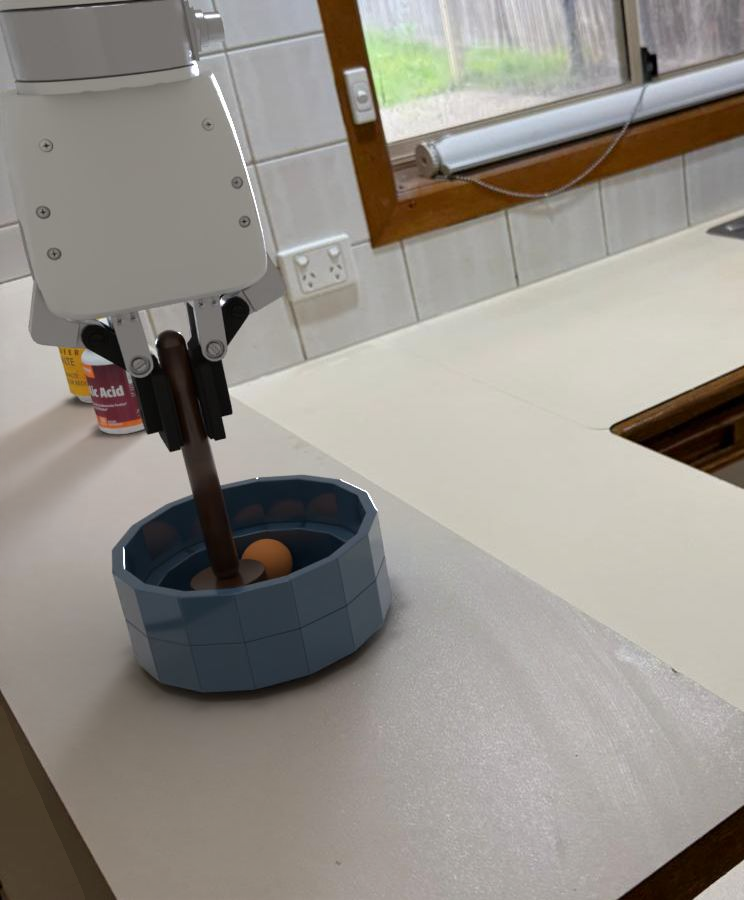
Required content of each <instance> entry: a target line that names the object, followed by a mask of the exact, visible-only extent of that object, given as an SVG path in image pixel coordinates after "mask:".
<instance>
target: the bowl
mask: <svg viewBox="0 0 744 900" xmlns="http://www.w3.org/2000/svg"><path fill="white" fill-rule="evenodd" d="M220 486H221V490H222V494H223V498H224V502H225V506H226V511H227V515H228V519H229V523H230V527H231V531H232V535H233V539H234V544H235V548H236V552H237V556H238V559H242V556H243V553H244V552H245V550H246V549H247V548H248V547H249V546H250V545H251V544H252V543H254V542H256V541H258V540H262V539H273V540H277V541H279V542H281V543H282V544H284V545H285V546H286V547H287V548H288V550H289V551H290V553H291V556H292V561H293V566H292V571H291V573H290V574H289V575H287V576H283V577H279V578H275V579H271V580H267V581H263V582H258V583H254V584H250V585H246V586H242V587H238V588H231V589H214V590H197V591H191V587H190V582H191V580H192V579H193V577H194V576H195V575H196V574H198V573H199V572H201V571H202V570H204V569H206V568H208V567H210V566H211V565H210V561H209V557H208V553H207V549H206V545H205V541H204V537H203V534H202V530H201V526H200V522H199V518H198V514H197V510H196V506H195V502H194V498H193V494H189V495H186V496H184V497H182V498H179V499H176V500H174V501H171V502H168V503H166V504H164V505H162V506H161V507H159V508H158V509H156V510H154V511H153V512H151V513H149V514H148V515H146V516H145V517H143V518H141V519H140V520H138V521H137V522H135V523H133V524H132V525H131V526H130V527H129V528H128V530H127V531H126V532H125V534H123V536H122V537H121V538H120V539H119V540H118V542H117V543H116V544H115V545H114V546H113V547H112V549H111V575H112V577H113V581H114V584H115V588H116V591H117V595H118V599H119V602H120V607H121V609H122V613H123V616H124V619H125V623H126V627H127V631H128V635H129V638H130V641H131V645H132V649H133V652H134V656H135V659H136V662H137V664H138V665H139V666H140V667H141V668H142V669H143V670H144V671H146V673H148V674H149V675H151V677H153V679H155V680H156V681H158V683H160V684H162V685H168V686H172V687H177V688H180V689H186V690H190V691H194V692H199V693H219V692H220V693H221V692H239V691H254V690H259V689H262V688H267V687H272V686H275V685H280V684H284V683H287V682H290V681H293V680H296V679H299V678H303V677H306V676H309V675H313V674H314V673H317V672H319V671H320V670H322V669H324V668H326V667H328V666H330V665H332V664H334V663H336V662H338V661H340V660H341V659H343V658H345V657H348V656H349V655H352V654H353V653H354V652H356V651H358V649H359V648H360V647H361V646H362V645H363V644H364V643H365V642H367V641H368V640H369V638H371V637H372V636H373V635H374V634H375V633H376V632H377V631H378V630H379V629H380V628H381V627H382V626H383V624H384V623H385V622H384V621H385V619H386V616H387V613H388V610H389V608H390V605H391V602H392V598H393V596H392V589H391V585H390V584H391V583H390V578H389V571H388V565H387V560H386V559H387V558H386V554H385V548H384V541H383V536H382V531H381V525H380V519H379V512H378V509H377V507H376V506H375V504H374V502H373V500H372V498H371V495H370V494H369V493H368V491H366V490H364V489H362V488H360V487H358V486H356V485H353V484H352V483H349V482H347V481H346V480H343V479H340V478H333V477H324V476H316V475H310V474H291V475H289V474H288V475H275V476H260V477H259V476H258V477H253V478H248V479H244V480H238V481H235V482H229V483H224V484H220Z"/></svg>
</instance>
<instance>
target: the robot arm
mask: <svg viewBox="0 0 744 900" xmlns="http://www.w3.org/2000/svg"><path fill="white" fill-rule="evenodd" d="M0 30H1V34H2V38H3V42H4V46H5V49H6V53H7V57H8V62H9V65H10V69H11V72H12V76H13V79H14V83H15V87H16V89H14V90H8V91H3V92H0V133H1V140H2V148H3V154H4V161H5V166H6V172H7V178H8V182H9V187H10V191H11V196H12V202H13V207H14V210H15V215H16V219H17V224H18V229H19V233H20V237H21V242H22V246H23V251H24V254H25V258H26V260H27V265H28V269H29V272H30V275H31V278H32V281H33V283H32V292H31V302H30V309H29V318H28V328H27V329H28V333H29V335H30V337H31V339H32V341H33V342H34V343H36V344H37V345H39V346H40V345H41V346H48V347H57V348H58V347H66V348H75V349H77V348H82V349H89V350H90V351H92V352H94V353H96V354H97V355H99V356H101V357H103V358H105V359H106V360H108V361H110V362H112V363H114V364H115V365H117V366H119V367H121V368H123V369H124V370H126V371H128V372H129V373H130V375H131V379H132V383H133V387H134V391H135V395H136V399H137V403H138V407H139V411H140V415H141V419H142V422H143V426H144V428H145V429H144V431H145V433H146V435H153V434H157V433H158V435H159V437H160V439H161V440H162V442H163V444H164V445H165V447H166V448H167V450H168V452H169V453H173V452H178V451H182V450H181V447H182V446H184V441H183V437H182V433H181V429H180V424H179V420H178V416H177V412H176V407H175V403H174V399H173V394H172V390H171V386H170V382H169V378H168V375H167V373H166V372H165V371H164V369H162V368H161V367H160V363H159V359H158V357H157V356H156V355H155V353H154V351H152V350H150V347H149V344H148V341H147V340H148V339H147V338H146V337H147V336H146V334H145V333H146V332H145V329H144V326H143V323H142V320H141V316H140V313H139V312H141V311H146V310H153V309H156V308H163V307H166V306H172V305H177V304H182V303H183V304H184V310H185V317H186V321H187V328H188V332H189V340H188V341H187V342H186V346H187V350H188V354H189V358H190V365H191V369H192V373H193V377H194V381H195V385H196V390H197V394H198V398H199V402H200V406H201V410H202V415H203V419H204V423H205V427H206V431H207V435H208V437H209V440H214V441H215V442H217V441H221V440H225V439H227V433H226V430H225V424H224V420H223V417H228V416H231V415H233V413H234V412H233V406H232V401H231V397H230V396H231V395H230V393H229V392H230V391H229V387H228V383H227V377H226V373H225V368H224V363H223V359H224V358H225V357H226V355H227V354H228V347H229V345H230V344H231V342H232V341H233V339H234V338H235V336H236V335H237V334H238V332H239V330H240V329H241V328H242V327H243V325H244V323H245V322H246V320H247V319H248V317H249V316H250V315H252V314H254V313H257V312H258V311H260V310H262V309H264V308H265V307H267V306H269V305H270V304H272V303H274V302H275V301H277V300H279V299H281V298H282V297H283V296H285V294H286V292H287V284H286V282H285V280H284V278H283V277H282V275H281V273H280V272H279V269H278V268H277V267H276V265H275V263H274V262H273V260H272V258H271V257H270V254H269V253H268V251H267V246H266V242H265V236H264V232H263V231H264V230H263V227H262V223H261V217H260V214H259V210H258V205H257V202H256V199H255V194H254V191H253V188H252V184H251V180H250V177H249V173H248V170H247V165H246V162H245V160H244V155H243V153H242V150H241V146H240V143H239V139H238V136H237V133H236V130H235V127H234V124H233V121H232V118H231V116H230V115H231V114H230V112H229V110H228V107H227V104H226V101H225V99H224V97H223V94H222V91H221V89H220V86H219V84H218V82H217V79H216V77H215V75H214V73H213V72H211V71H209V70H199V68H198V64H197V62H201V59H200V55H199V53H200V52H202V48H208V47H209V44H214V43H223V42H225V28H224V22H223V20H222V16H221V14H220V13H219V11H206V12H205V11H204V12H203V10H202V9H194V6H192V5H190V3H189V0H0ZM104 317H106V319H107V322H108V325H109V326H108V325H106V324H104V323H102V322H101V321H99V320H96V319H98V318H104Z"/></svg>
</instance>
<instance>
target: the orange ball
mask: <svg viewBox="0 0 744 900" xmlns="http://www.w3.org/2000/svg"><path fill="white" fill-rule="evenodd" d="M242 559H253V560H257V561H260V562H262V563H263V564H264V566H265V570H266V574H267V578H268V580H271V579H275V578H279V577H283V576H287V575H289V574H290V573H291V571H292V566H293V561H292V556H291V553H290V551H289V550H288V548H287V547H286V546H285V545H284V544H282V543H281V542H279V541H277V540H273V539H262V540H258V541H256V542H254V543H252V544H251V545H250V546H249V547H248V548H247V549H246V550H245V552H244V553H243V556H242Z"/></svg>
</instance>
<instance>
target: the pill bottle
mask: <svg viewBox="0 0 744 900" xmlns="http://www.w3.org/2000/svg"><path fill="white" fill-rule="evenodd" d="M99 321H101V322H102V323H104V324H106V325H108V322H107V319H106V318H104V319H99ZM108 326H109V325H108ZM81 361H82V365H83V368H84V372H85V376H86V380H87V383H88V387H89V391H90V395H91V399H92V402H93V403H92V406H93V410H94V413H95V417H96V421H97V425H98V428H99V430H100V431H101V432H103V433H106V434H110V435H127V434H133V433H136V432H140V431H143V430H145V428H144V426H143V422H142V419H141V415H140V411H139V407H138V403H137V399H136V395H135V391H134V387H133V383H132V379H131V375H130V373H129V372H128V371H126V370H124V369H123V368H121V367H119V366H117V365H115V364H114V363H112V362H110V361H108V360H106V359H105V358H103V357H101V356H99V355H97V354H96V353H94V352H92V351H90V350H89V349H86V350H85V351H84V352H83V353H82V356H81Z"/></svg>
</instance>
